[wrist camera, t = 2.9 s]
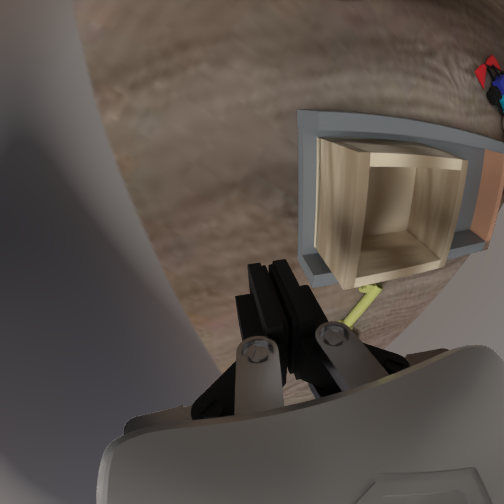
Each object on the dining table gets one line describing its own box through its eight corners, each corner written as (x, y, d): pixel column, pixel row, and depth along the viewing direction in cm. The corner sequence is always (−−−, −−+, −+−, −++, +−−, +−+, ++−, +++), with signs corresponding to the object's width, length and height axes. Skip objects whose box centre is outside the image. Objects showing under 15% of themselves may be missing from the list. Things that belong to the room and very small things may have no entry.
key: (377, 272, 28) (387, 283, 26) (347, 346, 34) (353, 358, 32) (319, 276, 27) (327, 289, 25) (298, 354, 33) (303, 367, 31)
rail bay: (297, 259, 25) (312, 287, 21) (296, 109, 18) (318, 111, 14) (466, 233, 27) (487, 249, 23) (483, 135, 20) (509, 144, 17)
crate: (313, 246, 23) (343, 289, 17) (316, 137, 18) (358, 152, 13) (406, 233, 24) (444, 266, 18) (418, 142, 19) (468, 160, 14)
